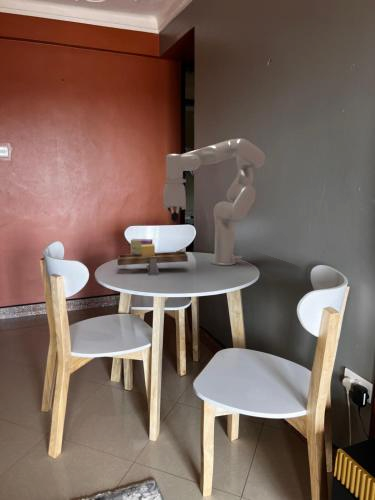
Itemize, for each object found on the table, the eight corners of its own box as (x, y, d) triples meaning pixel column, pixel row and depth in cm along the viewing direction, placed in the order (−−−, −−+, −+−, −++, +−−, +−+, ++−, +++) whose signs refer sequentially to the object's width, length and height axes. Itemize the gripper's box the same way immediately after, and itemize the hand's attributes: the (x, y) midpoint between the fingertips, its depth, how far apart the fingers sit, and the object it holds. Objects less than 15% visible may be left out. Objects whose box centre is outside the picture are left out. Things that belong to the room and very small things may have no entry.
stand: (157, 266, 187) (157, 252, 186) (158, 274, 171) (158, 259, 169) (147, 266, 187) (146, 252, 185) (147, 275, 170) (147, 259, 169)
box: (152, 261, 199) (152, 238, 197) (150, 263, 193) (150, 240, 191) (133, 260, 200) (132, 238, 198) (130, 262, 194) (130, 240, 192)
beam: (185, 256, 185) (185, 250, 184) (187, 261, 175) (187, 255, 174) (118, 260, 181) (118, 254, 180) (117, 265, 171) (117, 258, 171)
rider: (154, 256, 180) (154, 244, 179) (155, 258, 175) (154, 245, 174) (141, 257, 179) (141, 244, 178) (142, 259, 175) (141, 246, 173)
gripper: (189, 181, 178) (189, 220, 181) (157, 181, 176) (158, 221, 179) (191, 181, 170) (191, 222, 174) (158, 181, 168) (159, 222, 172)
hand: (174, 221), depth 177 cm, fingers closed
